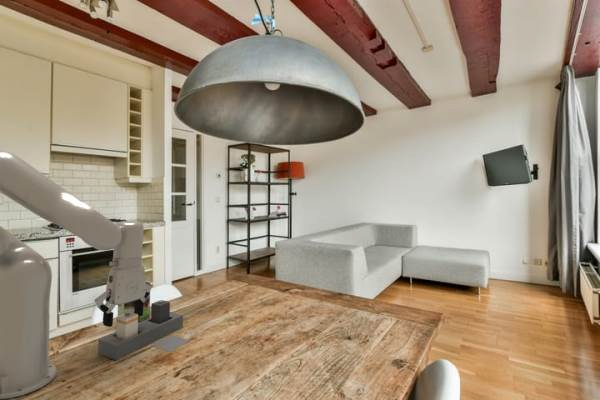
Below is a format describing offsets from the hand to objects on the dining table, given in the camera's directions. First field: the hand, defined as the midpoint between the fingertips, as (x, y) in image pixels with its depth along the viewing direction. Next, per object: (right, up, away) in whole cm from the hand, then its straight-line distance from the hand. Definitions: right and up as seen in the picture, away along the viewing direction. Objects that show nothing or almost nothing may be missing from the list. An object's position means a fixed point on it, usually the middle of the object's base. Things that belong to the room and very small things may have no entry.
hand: (123, 320), depth 90 cm
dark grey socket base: (+3, -9, +6) cm, 11 cm away
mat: (+12, -9, +4) cm, 16 cm away
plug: (0, -7, +1) cm, 7 cm away
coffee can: (-7, -9, +17) cm, 20 cm away
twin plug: (+5, -7, +12) cm, 15 cm away
